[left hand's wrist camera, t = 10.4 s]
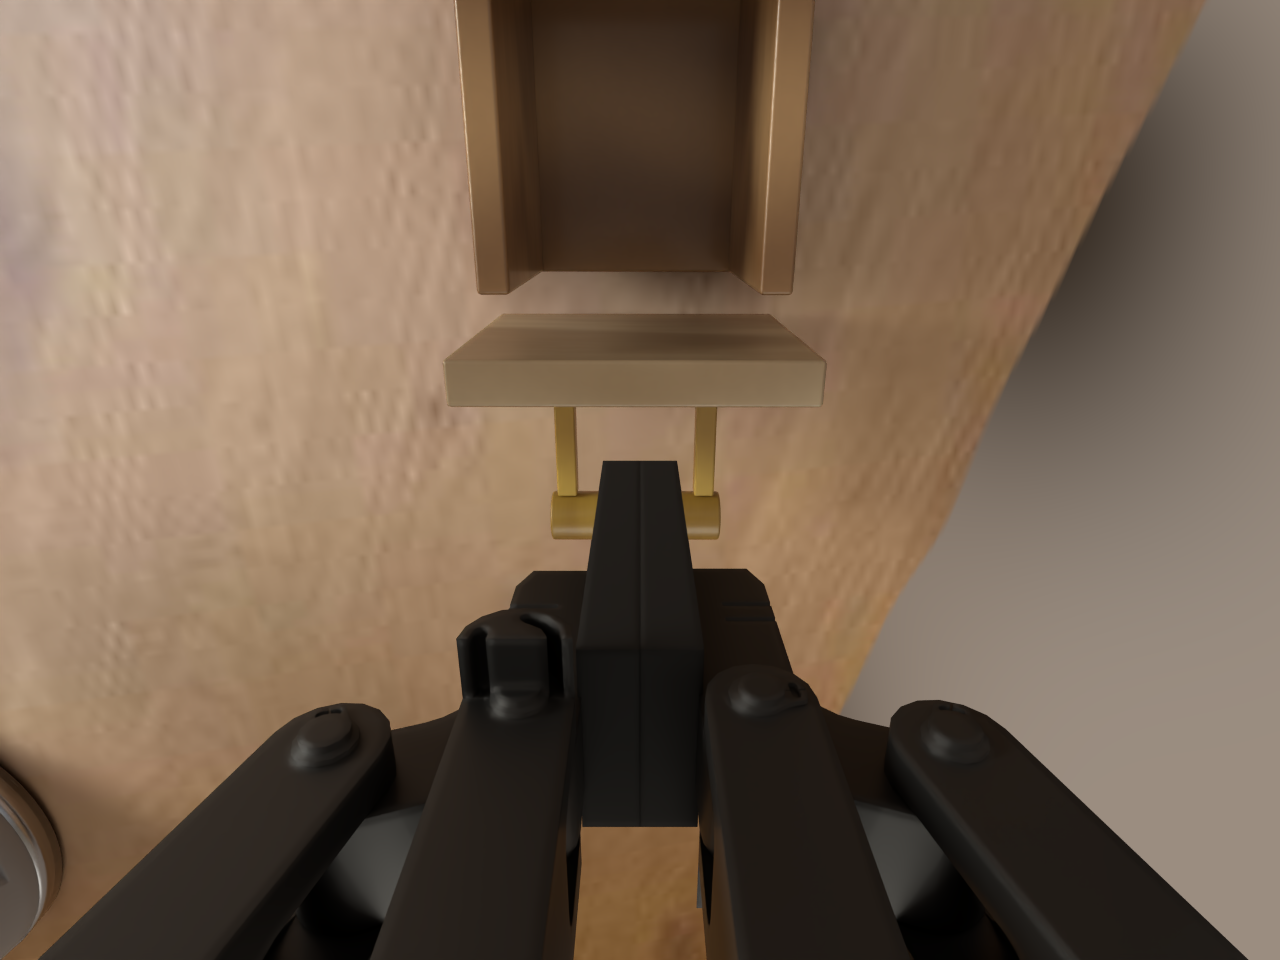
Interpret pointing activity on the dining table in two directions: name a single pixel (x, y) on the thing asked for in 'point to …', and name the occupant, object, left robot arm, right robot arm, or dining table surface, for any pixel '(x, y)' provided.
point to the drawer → (634, 210)
